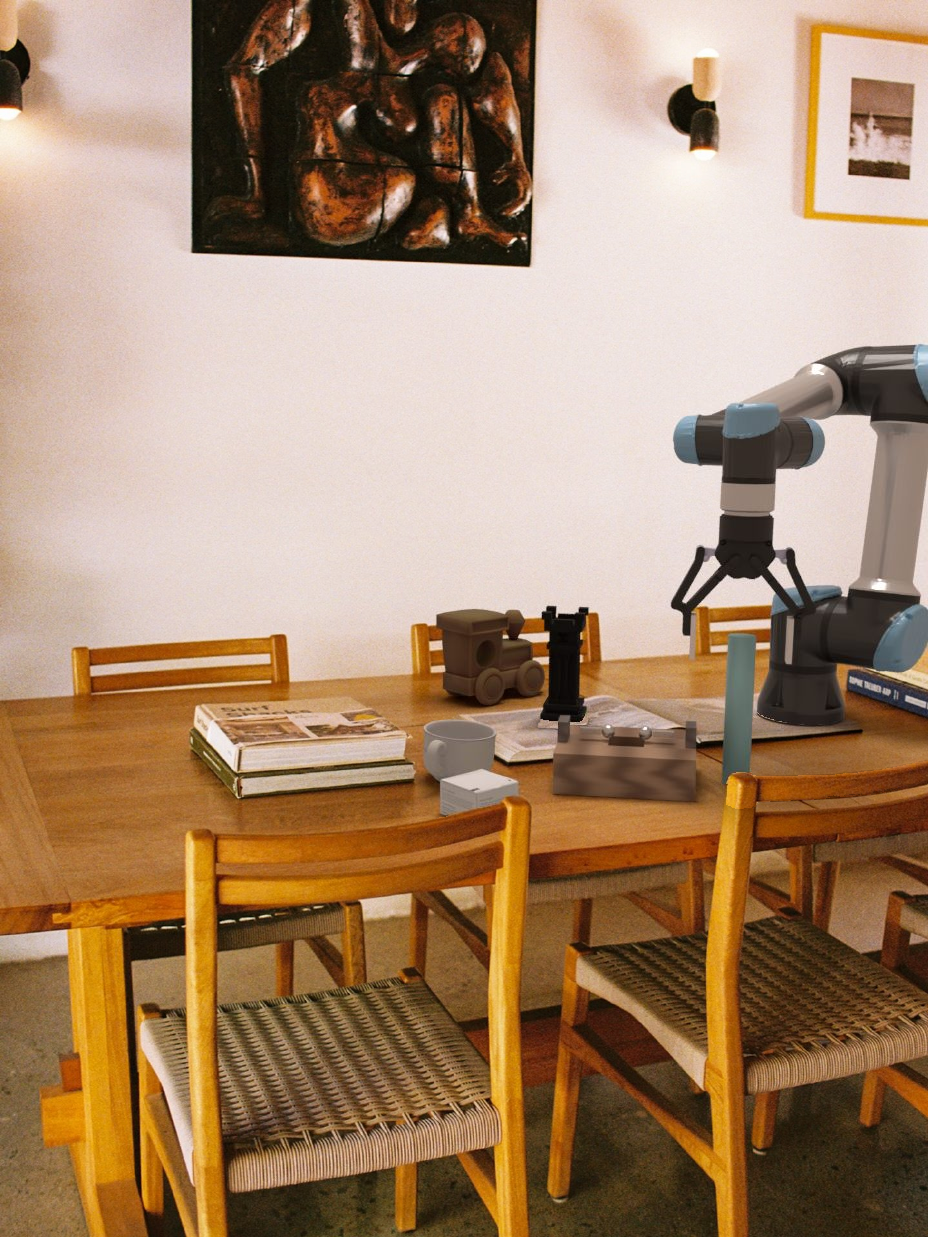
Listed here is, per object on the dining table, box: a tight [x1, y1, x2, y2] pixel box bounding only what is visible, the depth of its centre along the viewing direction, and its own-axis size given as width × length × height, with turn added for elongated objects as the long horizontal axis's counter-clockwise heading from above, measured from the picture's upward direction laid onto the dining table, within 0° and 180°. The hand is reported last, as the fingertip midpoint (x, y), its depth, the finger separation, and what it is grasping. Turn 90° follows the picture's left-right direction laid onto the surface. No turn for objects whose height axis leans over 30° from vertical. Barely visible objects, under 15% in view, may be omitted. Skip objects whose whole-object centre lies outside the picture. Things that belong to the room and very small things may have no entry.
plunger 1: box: [580, 724, 615, 738], centre depth 184 cm, size 5×2×2 cm, turn 80°
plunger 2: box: [638, 725, 674, 740], centre depth 183 cm, size 5×2×2 cm, turn 80°
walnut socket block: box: [552, 715, 698, 803], centre depth 184 cm, size 20×16×9 cm
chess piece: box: [539, 605, 590, 722], centre depth 215 cm, size 8×8×20 cm
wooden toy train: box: [435, 608, 546, 706], centre depth 235 cm, size 20×11×17 cm, turn 131°
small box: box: [439, 769, 520, 816], centre depth 170 cm, size 8×8×5 cm
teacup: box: [422, 719, 498, 782], centre depth 184 cm, size 14×11×8 cm
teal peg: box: [721, 632, 757, 786], centre depth 182 cm, size 4×4×22 cm
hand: (739, 660), depth 181 cm, fingers open, 13 cm apart
